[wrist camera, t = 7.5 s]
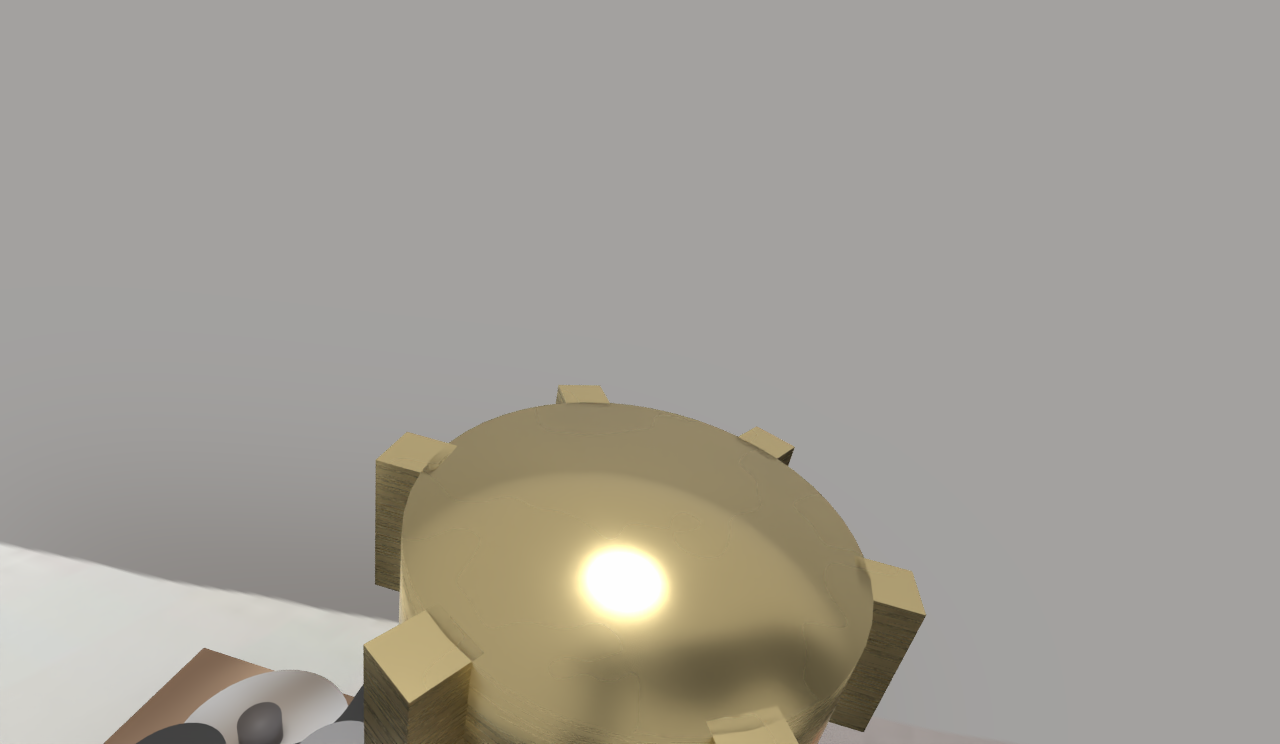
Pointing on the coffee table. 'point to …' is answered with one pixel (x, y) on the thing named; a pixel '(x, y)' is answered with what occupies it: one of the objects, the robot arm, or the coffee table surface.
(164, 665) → the coffee table surface
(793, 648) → the brass pinion
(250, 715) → the board
